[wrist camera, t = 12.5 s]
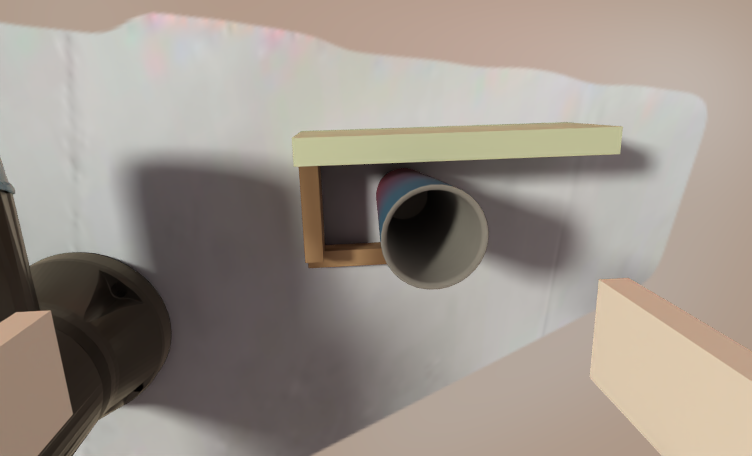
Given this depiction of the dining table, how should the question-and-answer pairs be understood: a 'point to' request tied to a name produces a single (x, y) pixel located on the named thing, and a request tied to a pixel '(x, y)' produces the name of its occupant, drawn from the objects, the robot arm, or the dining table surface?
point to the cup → (429, 229)
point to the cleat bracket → (314, 230)
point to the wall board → (453, 143)
